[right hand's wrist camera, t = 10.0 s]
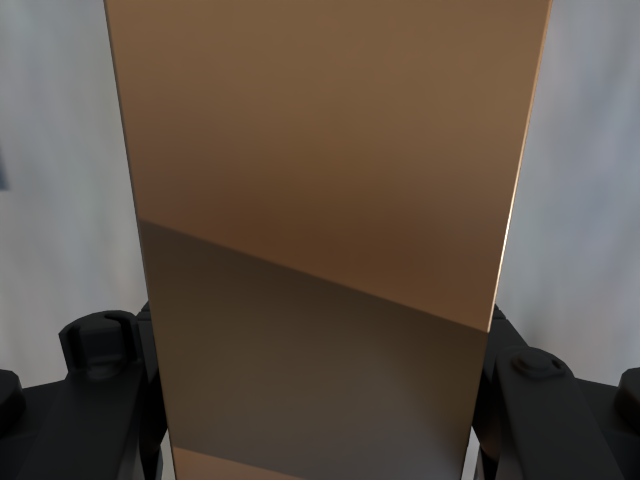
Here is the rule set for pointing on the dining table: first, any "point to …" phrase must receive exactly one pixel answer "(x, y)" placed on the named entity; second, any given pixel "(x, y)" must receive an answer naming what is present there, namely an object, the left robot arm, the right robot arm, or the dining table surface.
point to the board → (323, 222)
